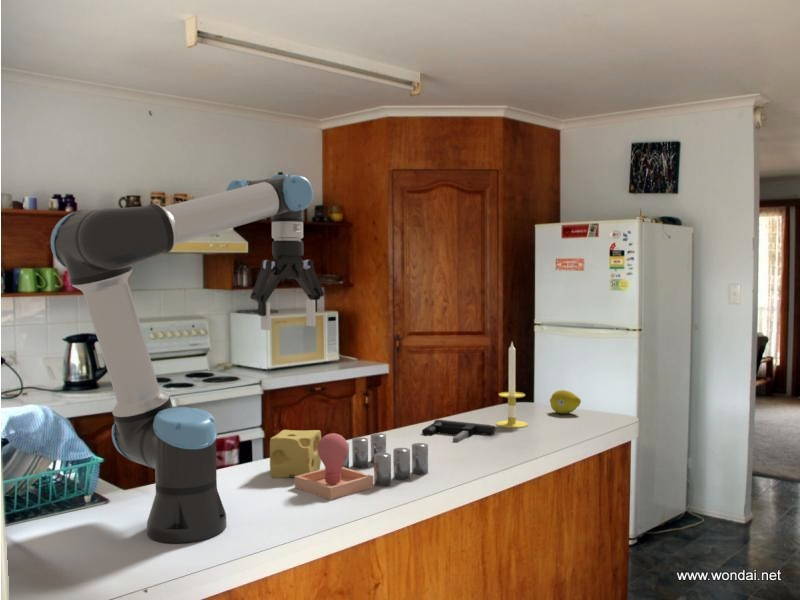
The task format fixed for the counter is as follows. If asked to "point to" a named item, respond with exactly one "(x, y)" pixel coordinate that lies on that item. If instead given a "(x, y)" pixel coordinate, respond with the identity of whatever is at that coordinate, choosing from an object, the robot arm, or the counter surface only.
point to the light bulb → (333, 456)
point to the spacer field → (388, 459)
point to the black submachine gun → (458, 429)
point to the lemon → (564, 402)
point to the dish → (347, 485)
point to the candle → (511, 396)
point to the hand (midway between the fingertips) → (288, 327)
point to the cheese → (294, 453)
